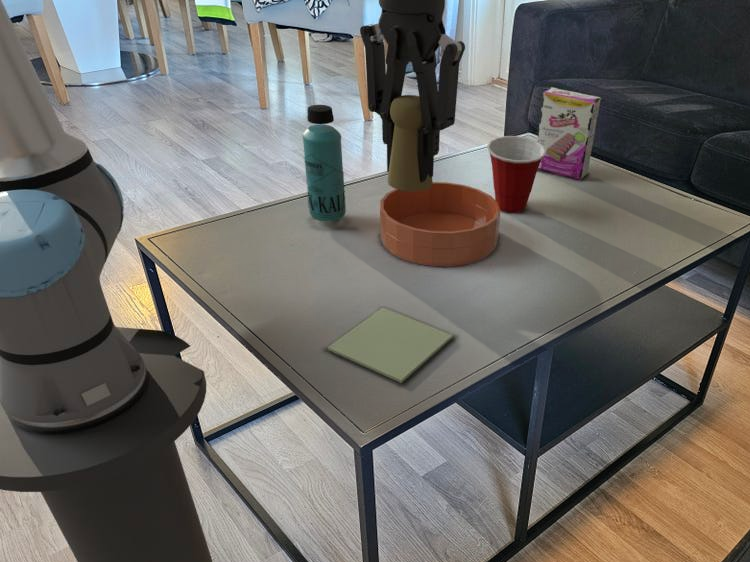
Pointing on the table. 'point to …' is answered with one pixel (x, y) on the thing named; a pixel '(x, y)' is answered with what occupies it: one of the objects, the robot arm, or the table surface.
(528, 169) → the plastic cup
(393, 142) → the brown peg doll
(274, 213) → the table surface
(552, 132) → the candy bar box
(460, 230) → the bowl
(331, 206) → the beverage bottle
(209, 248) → the table surface
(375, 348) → the coaster
